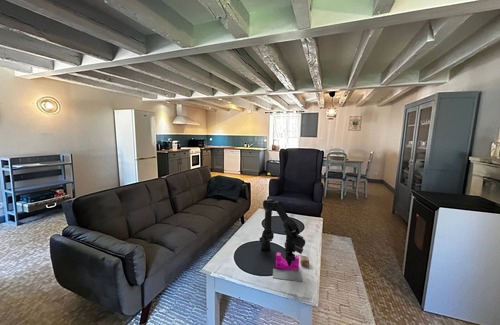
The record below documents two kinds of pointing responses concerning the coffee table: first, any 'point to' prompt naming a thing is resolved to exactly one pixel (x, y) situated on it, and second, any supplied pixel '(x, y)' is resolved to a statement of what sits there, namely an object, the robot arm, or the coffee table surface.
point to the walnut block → (304, 261)
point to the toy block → (283, 263)
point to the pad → (287, 275)
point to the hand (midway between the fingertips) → (289, 262)
